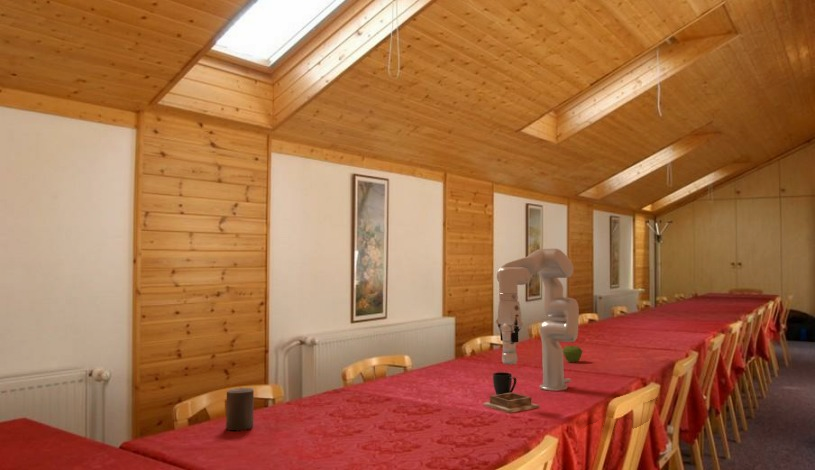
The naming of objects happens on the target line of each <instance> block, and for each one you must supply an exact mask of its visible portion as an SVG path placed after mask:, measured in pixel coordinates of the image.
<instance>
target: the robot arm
mask: <svg viewBox="0 0 815 470" xmlns="http://www.w3.org/2000/svg"><path fill="white" fill-rule="evenodd" d="M536 274H538V276H539V278H540V279H541V281H542V282H543V285H544V301H543V302H544V303H543V305H544V306H543V312H544V315H545V316H546V317H549V318H558V319H559V318H560V319H561V318H562V319H565V320H558V319H557V320H555V319H548V320H545V321H542V322H541V323H540V325H539V336H540V340H541V347H542V348H541V353H542V384H539V389H542V390H544V391H545V390H546V391H551V392H553V391H554V392H555V391H556V392H557V391H558V392H559V391H565V390H568V385H567V384H569V383H571V382H572V379H571V378H566V377H565V376H564V375H565V374H564V353H563V349H564V348H563V347H562V345H561V344H560V342H563V343H572V342H575V341H576V340H577V339H578V334H579V317H580V315H579V314H580V311H579V309H580V308H579V302H578V301H577V300H576V299H575V298H573V297H566V296H565V297H564V286H563V284H562V282H561V281H560V279H566V278H570V277H571V276H573V274H574V265H573V262H572V261H571V259H570V258H569V257H568V256H567V255H566V254H565V252H564V251H563V250H560V249H559V248H539V249H536V250H534V251H533V252H531V253H530V254H529V255H527V256H526V257H522V258H519V259H516V260H512V261H510V262H507V263H505V264H503V265H502V266H500V268H499V269H498V270H497V272H496V279H497V281H498V288H499V289H498V291H499V292H498V293H499V297H498V299H499V300H498V308H497V318H496V320H495V323H496V324H497V326H498V331H499V332H500V333H499V334H500V336H499V337H500V341H501V342H503V338H502V331H501V327H502V325H503V324H504V323H506V324H507V325H509V326H511V329H512V332H513V333H511V340H512V343H515V342H516V343H519V332H520V330H521V329H522V327H523V326H524V324H523V322H522V311H521V305H520V301H519V295H518V291H519V290H518V286H524V285H527V284H528V283H530V281H531V278H532V276H533V275H536ZM559 278H560V279H559ZM514 324H515V325H514ZM514 327H515V329H514Z"/></svg>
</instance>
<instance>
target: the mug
mask: <svg viewBox="0 0 815 470" xmlns="http://www.w3.org/2000/svg"><path fill="white" fill-rule="evenodd" d="M512 379H513V380H512ZM492 382H493V388H494V393H495V395H499V394H505V393H511V392H512V393H514V389H515V387H516V385H517V383H518V381H517V377H514V376H513V375H512V373H510V372H504V371H503V372H501V371H500V372H499V371H498V372H494V373H493V374H492Z"/></svg>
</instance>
